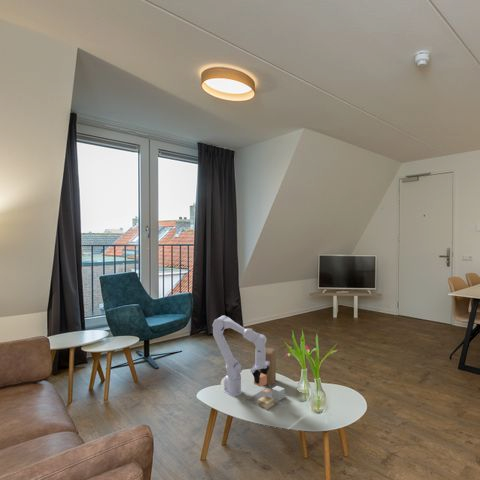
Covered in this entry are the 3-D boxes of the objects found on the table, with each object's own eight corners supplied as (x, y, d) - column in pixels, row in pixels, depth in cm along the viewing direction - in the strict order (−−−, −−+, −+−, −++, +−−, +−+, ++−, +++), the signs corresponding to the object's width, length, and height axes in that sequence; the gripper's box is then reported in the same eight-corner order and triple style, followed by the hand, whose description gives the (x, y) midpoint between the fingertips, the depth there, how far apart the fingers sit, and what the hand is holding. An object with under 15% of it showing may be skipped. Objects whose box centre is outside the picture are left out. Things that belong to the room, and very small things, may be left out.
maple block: (257, 405, 170) (257, 399, 170) (264, 400, 175) (264, 395, 175) (266, 409, 166) (266, 403, 166) (273, 404, 171) (273, 399, 171)
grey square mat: (245, 400, 176) (245, 399, 176) (265, 389, 189) (265, 388, 189) (268, 411, 165) (268, 410, 165) (288, 398, 178) (288, 397, 178)
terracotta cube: (254, 384, 179) (254, 375, 179) (259, 381, 183) (259, 372, 183) (261, 386, 176) (261, 377, 176) (266, 383, 180) (266, 374, 180)
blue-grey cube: (271, 397, 179) (271, 388, 179) (277, 394, 182) (277, 385, 182) (279, 400, 175) (279, 391, 175) (284, 397, 179) (284, 388, 179)
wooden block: (255, 384, 196) (255, 351, 195) (260, 377, 205) (261, 346, 205) (271, 387, 192) (271, 353, 192) (276, 380, 201) (276, 348, 201)
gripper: (257, 362, 171) (257, 388, 171) (273, 355, 182) (273, 379, 182) (247, 359, 176) (247, 384, 176) (264, 352, 187) (263, 375, 187)
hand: (260, 381), depth 180 cm, fingers closed on terracotta cube, 5 cm apart
